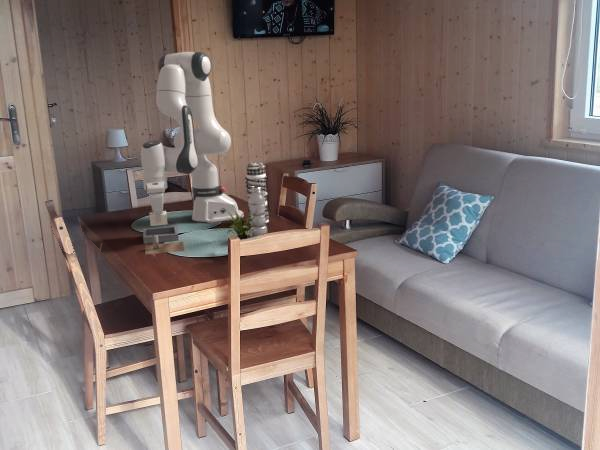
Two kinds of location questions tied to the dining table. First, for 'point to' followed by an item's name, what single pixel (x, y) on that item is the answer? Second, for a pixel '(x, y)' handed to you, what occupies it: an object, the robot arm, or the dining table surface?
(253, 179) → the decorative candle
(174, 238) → the charcoal tray
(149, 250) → the walnut board
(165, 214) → the cream collar
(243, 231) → the house plant
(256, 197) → the plastic bottle
